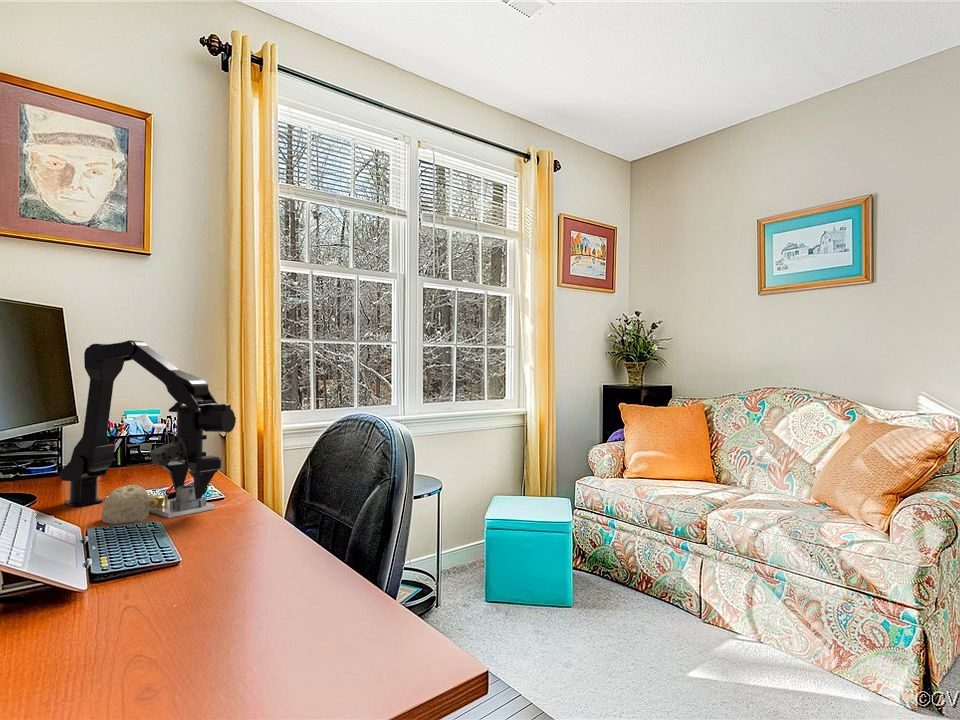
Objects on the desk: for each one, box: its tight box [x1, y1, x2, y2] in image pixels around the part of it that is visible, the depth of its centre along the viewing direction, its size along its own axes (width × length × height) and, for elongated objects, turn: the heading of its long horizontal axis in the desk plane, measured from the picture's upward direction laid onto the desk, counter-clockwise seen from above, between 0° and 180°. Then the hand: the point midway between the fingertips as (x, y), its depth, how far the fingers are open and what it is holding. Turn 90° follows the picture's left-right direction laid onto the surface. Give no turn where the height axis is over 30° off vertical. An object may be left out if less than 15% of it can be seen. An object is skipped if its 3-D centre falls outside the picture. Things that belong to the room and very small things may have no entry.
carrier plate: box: [148, 494, 216, 519], centre depth 138 cm, size 13×12×4 cm
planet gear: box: [169, 484, 207, 510], centre depth 138 cm, size 8×8×4 cm
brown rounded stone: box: [101, 484, 150, 525], centre depth 129 cm, size 9×10×10 cm
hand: (188, 496), depth 138 cm, fingers open, 9 cm apart
